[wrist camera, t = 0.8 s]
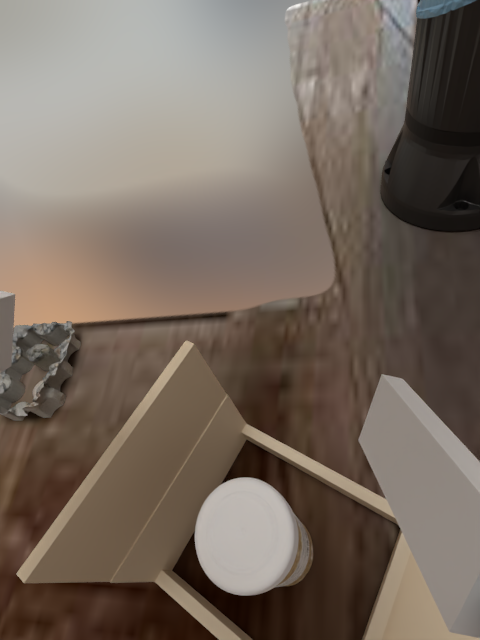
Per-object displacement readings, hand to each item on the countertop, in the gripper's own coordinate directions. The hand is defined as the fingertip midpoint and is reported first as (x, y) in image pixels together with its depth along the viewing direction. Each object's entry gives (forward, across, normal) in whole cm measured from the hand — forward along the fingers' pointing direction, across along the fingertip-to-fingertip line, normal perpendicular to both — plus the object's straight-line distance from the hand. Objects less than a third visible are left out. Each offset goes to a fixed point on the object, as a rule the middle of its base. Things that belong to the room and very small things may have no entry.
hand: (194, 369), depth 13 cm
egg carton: (+26, -18, -16) cm, 35 cm away
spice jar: (+9, +8, -17) cm, 21 cm away
